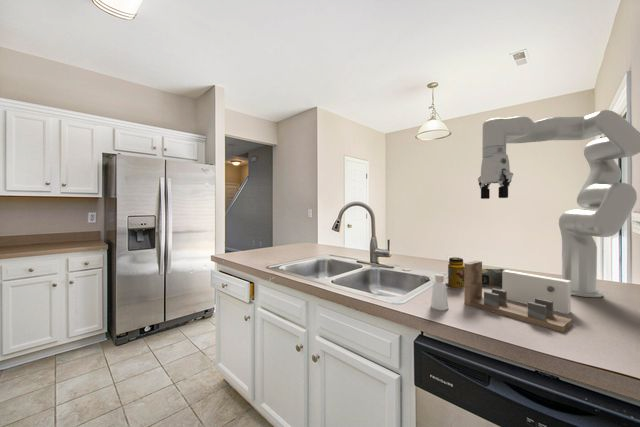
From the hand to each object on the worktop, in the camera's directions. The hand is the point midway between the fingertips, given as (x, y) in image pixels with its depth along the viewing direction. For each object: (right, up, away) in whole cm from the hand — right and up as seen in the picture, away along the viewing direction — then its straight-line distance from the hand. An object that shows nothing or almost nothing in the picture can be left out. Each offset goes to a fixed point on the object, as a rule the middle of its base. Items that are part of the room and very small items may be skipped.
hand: (493, 198), depth 101 cm
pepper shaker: (-26, -37, -12) cm, 47 cm away
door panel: (+7, -37, -10) cm, 39 cm away
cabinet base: (-5, -37, -18) cm, 41 cm away
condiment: (-10, -37, +11) cm, 39 cm away
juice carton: (+5, -37, +16) cm, 40 cm away
